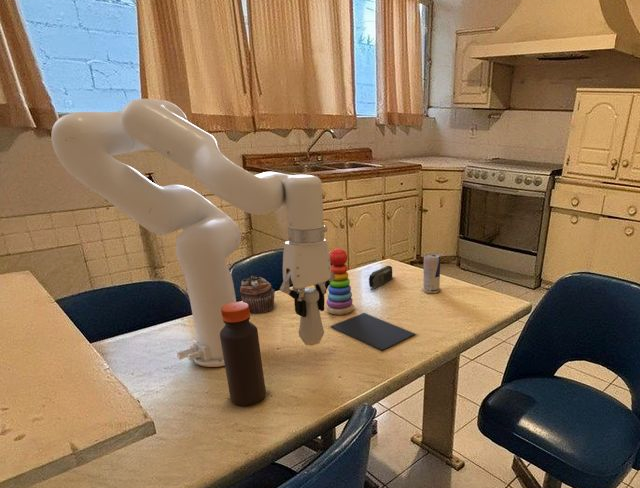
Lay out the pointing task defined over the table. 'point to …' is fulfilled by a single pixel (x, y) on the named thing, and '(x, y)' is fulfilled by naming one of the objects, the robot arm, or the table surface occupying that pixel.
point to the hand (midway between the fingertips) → (310, 311)
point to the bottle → (242, 355)
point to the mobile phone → (380, 277)
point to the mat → (373, 331)
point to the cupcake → (257, 294)
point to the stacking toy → (339, 285)
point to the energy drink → (431, 273)
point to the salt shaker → (311, 319)
